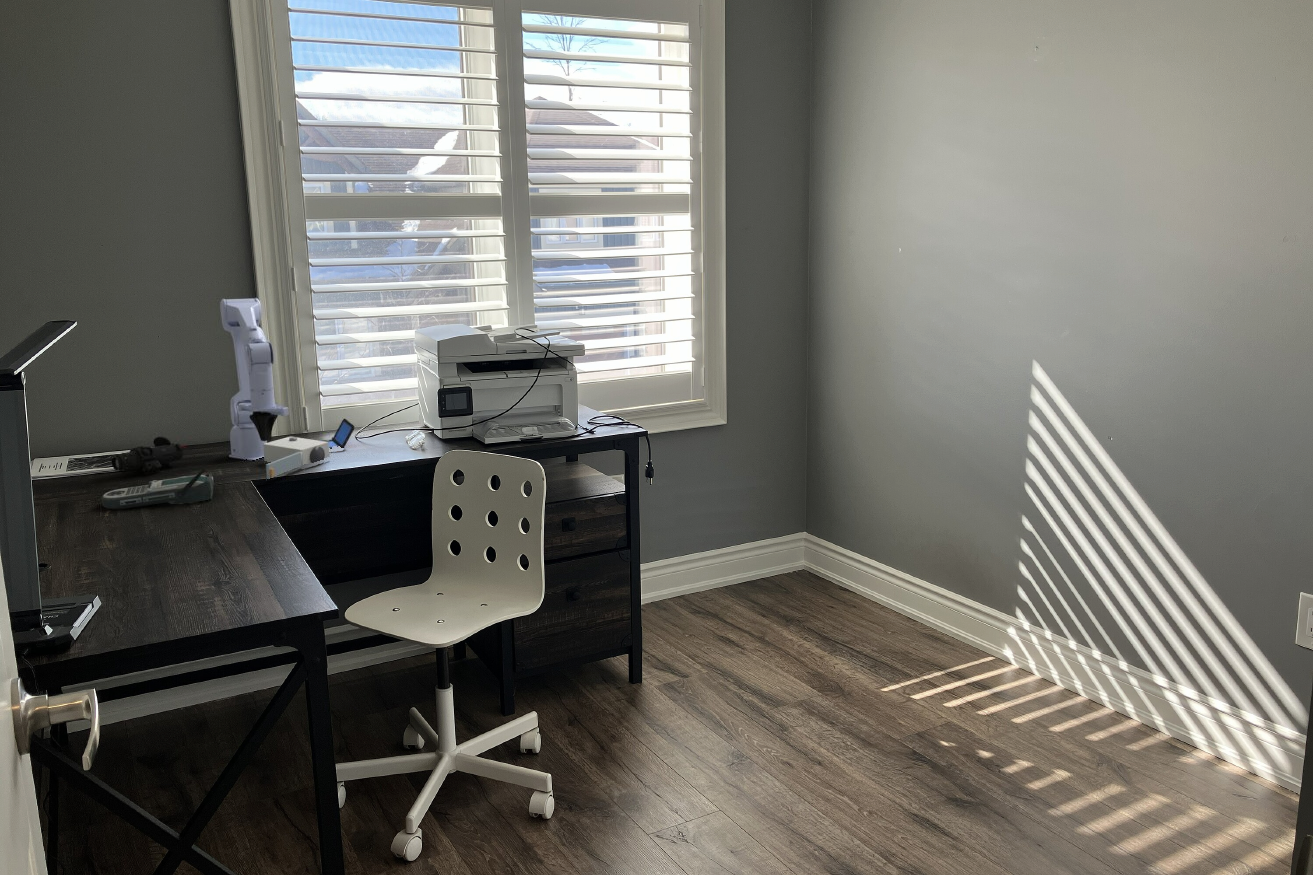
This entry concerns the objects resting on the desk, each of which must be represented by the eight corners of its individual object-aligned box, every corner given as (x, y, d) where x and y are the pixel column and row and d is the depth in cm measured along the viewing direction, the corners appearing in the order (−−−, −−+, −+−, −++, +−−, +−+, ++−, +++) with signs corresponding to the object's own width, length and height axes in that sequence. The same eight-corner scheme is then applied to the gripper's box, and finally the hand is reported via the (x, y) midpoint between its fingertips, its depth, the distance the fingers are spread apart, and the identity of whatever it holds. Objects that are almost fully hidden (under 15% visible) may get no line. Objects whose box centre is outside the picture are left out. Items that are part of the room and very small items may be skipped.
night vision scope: (118, 488, 253) (100, 459, 255) (183, 474, 267) (166, 447, 270) (127, 468, 249) (108, 439, 251) (193, 455, 263) (174, 428, 266)
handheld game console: (309, 445, 291) (307, 421, 289) (346, 441, 296) (344, 417, 294) (318, 455, 280) (316, 429, 278) (356, 450, 286) (355, 425, 284)
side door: (300, 467, 263) (299, 451, 262) (305, 468, 263) (304, 452, 262) (266, 481, 250) (265, 464, 249) (271, 481, 250) (270, 464, 249)
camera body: (264, 463, 269) (262, 441, 268) (291, 455, 278) (290, 434, 277) (305, 470, 263) (304, 448, 262) (332, 461, 272) (330, 440, 271)
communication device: (106, 500, 236) (102, 465, 234) (214, 490, 245) (211, 456, 243) (99, 515, 225) (94, 478, 223) (213, 503, 234) (209, 468, 232)
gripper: (227, 389, 252) (232, 440, 255) (274, 394, 247) (277, 446, 251) (247, 384, 259) (251, 434, 262) (292, 389, 254) (296, 440, 257)
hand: (265, 440), depth 257 cm, fingers closed
